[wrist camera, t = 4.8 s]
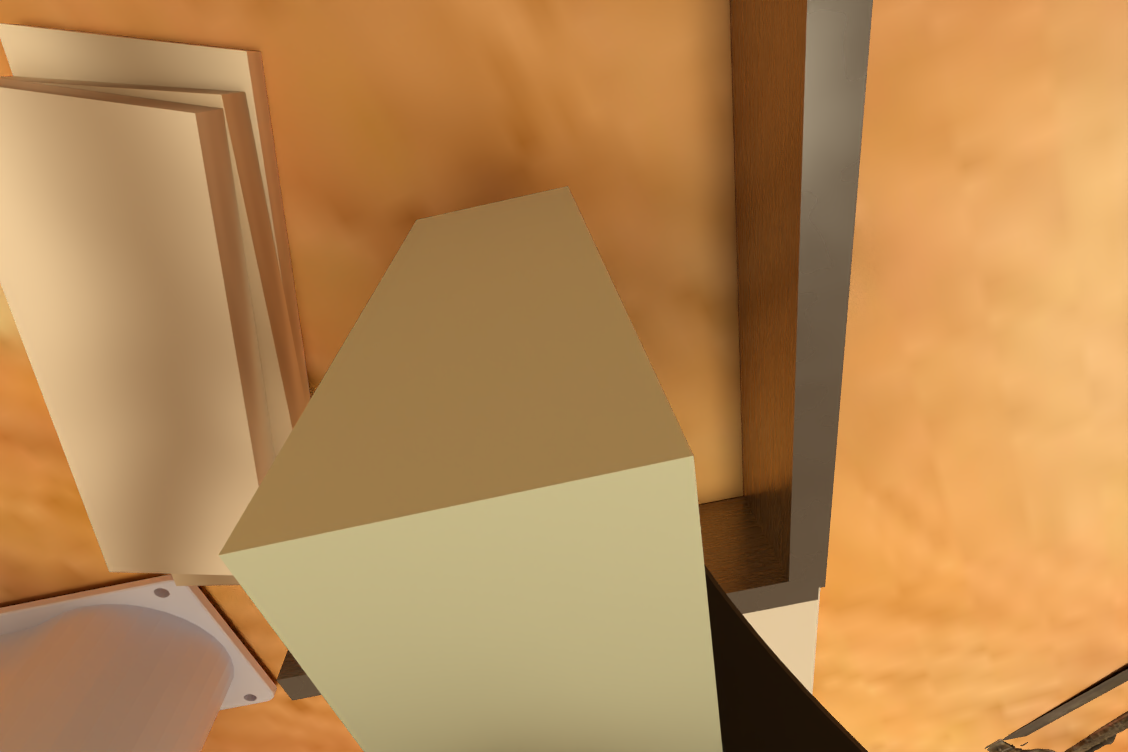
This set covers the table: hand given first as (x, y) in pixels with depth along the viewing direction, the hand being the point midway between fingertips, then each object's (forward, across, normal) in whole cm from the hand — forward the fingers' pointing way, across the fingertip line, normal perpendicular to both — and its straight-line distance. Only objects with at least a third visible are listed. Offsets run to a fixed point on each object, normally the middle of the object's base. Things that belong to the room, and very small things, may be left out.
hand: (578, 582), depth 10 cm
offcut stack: (+9, +10, -2) cm, 14 cm away
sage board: (+2, 0, 0) cm, 3 cm away
